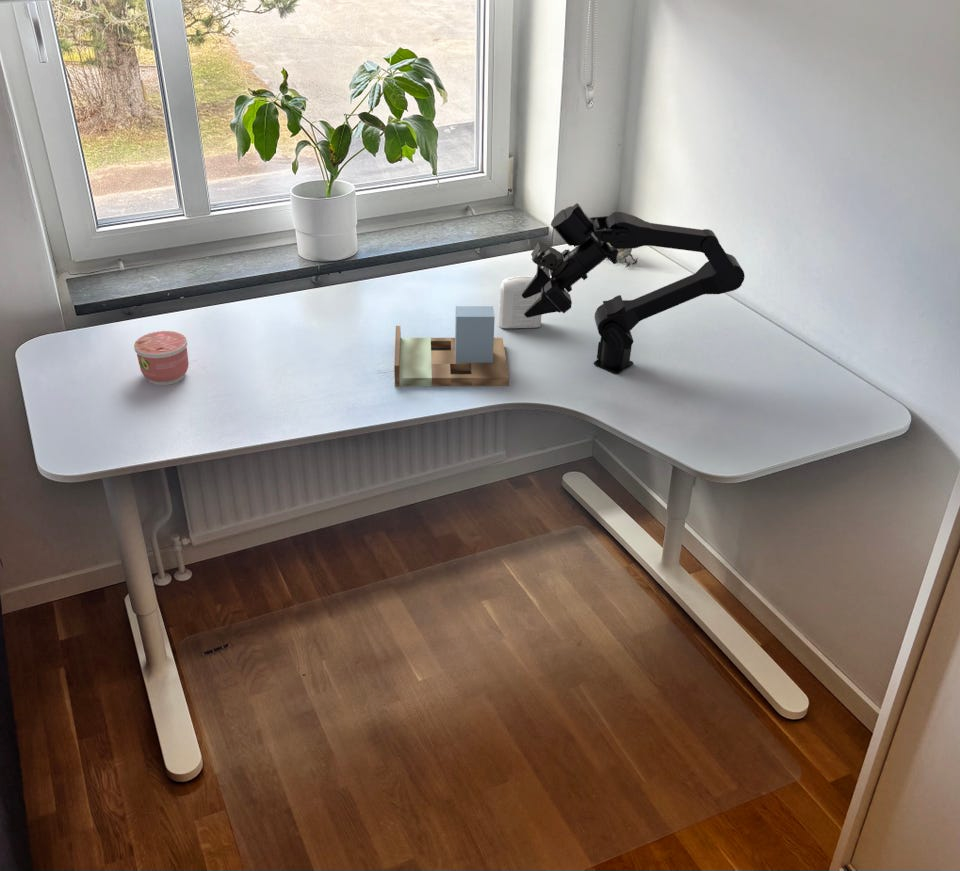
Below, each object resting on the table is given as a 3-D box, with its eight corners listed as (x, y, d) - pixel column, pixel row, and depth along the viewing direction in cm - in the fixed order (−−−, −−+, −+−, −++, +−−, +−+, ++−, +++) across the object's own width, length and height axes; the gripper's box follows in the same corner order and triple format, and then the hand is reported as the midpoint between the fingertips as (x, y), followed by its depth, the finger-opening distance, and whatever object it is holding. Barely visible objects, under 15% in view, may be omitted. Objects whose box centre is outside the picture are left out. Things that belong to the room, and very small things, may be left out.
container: (138, 367, 203) (132, 334, 199) (189, 360, 206) (183, 327, 202) (142, 392, 195) (135, 357, 191) (194, 384, 198) (189, 350, 194)
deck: (502, 345, 216) (503, 325, 213) (508, 385, 201) (509, 365, 199) (396, 345, 215) (395, 325, 212) (394, 386, 200) (394, 365, 197)
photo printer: (539, 320, 227) (542, 272, 221) (542, 328, 224) (546, 280, 217) (496, 322, 226) (498, 273, 219) (499, 330, 223) (501, 281, 216)
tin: (491, 351, 210) (493, 306, 203) (492, 362, 205) (494, 316, 199) (454, 351, 209) (455, 306, 203) (455, 362, 205) (456, 316, 199)
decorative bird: (596, 248, 266) (599, 222, 262) (640, 266, 256) (643, 240, 252) (583, 252, 263) (585, 226, 259) (626, 271, 253) (630, 245, 249)
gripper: (553, 215, 201) (497, 262, 206) (561, 250, 185) (501, 299, 191) (585, 252, 205) (530, 297, 211) (596, 289, 190) (536, 336, 195)
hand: (524, 306), depth 202 cm, fingers open, 9 cm apart
